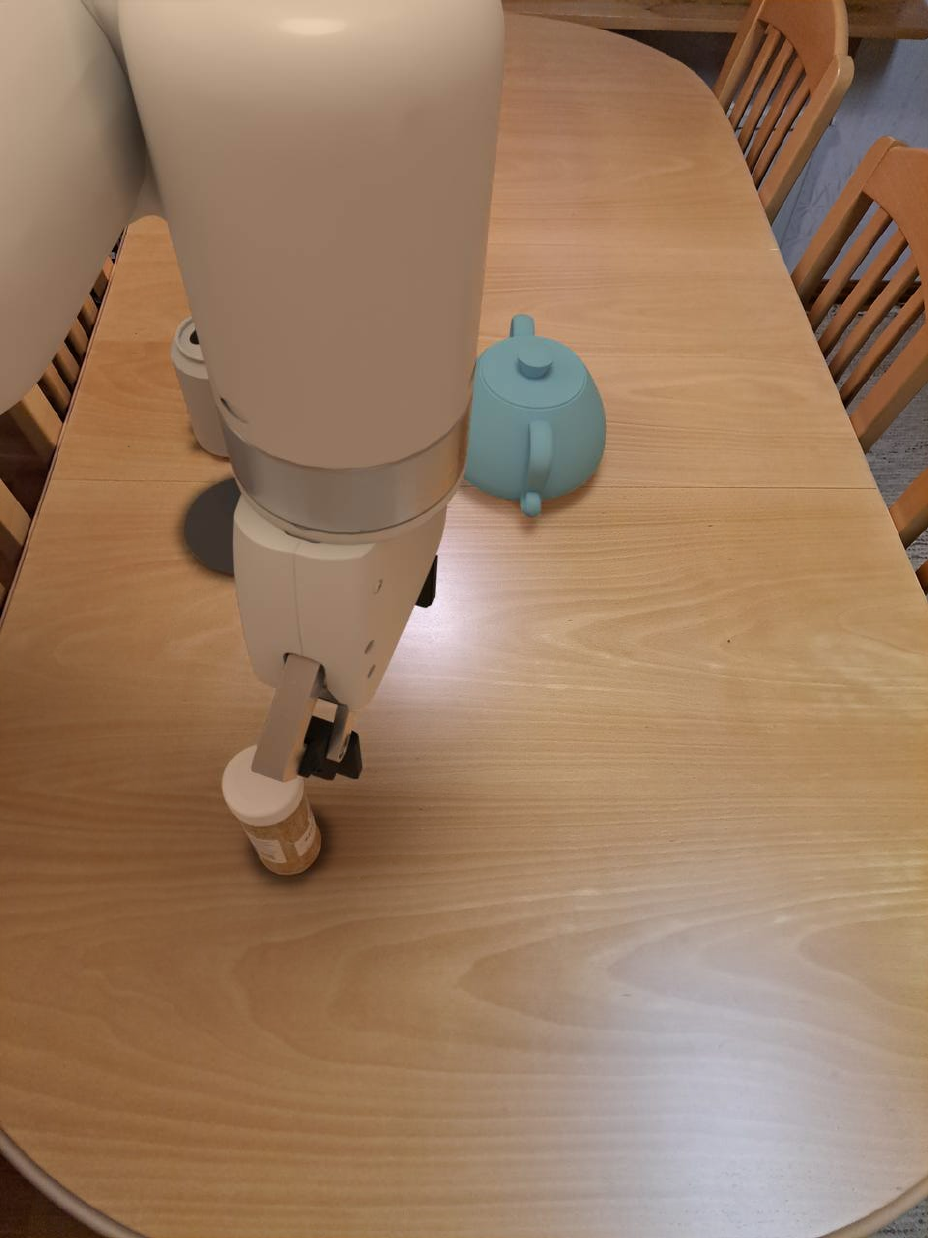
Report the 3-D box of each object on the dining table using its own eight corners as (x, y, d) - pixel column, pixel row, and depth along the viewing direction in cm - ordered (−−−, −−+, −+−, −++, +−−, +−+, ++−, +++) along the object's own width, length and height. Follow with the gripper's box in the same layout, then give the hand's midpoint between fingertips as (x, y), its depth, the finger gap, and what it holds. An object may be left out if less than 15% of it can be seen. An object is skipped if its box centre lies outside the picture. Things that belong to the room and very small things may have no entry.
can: (230, 395, 82) (205, 291, 71) (292, 425, 80) (275, 323, 70) (180, 442, 78) (145, 340, 68) (244, 475, 76) (218, 375, 66)
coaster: (227, 599, 69) (226, 596, 69) (161, 516, 73) (160, 513, 73) (335, 535, 73) (335, 531, 73) (267, 460, 77) (266, 456, 77)
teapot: (613, 537, 75) (648, 439, 64) (393, 541, 73) (390, 441, 63) (582, 383, 85) (608, 276, 74) (388, 383, 84) (385, 274, 73)
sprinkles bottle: (333, 853, 59) (315, 788, 47) (276, 890, 57) (243, 832, 46) (301, 801, 61) (276, 727, 49) (245, 835, 59) (206, 767, 48)
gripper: (344, 230, 30) (363, 520, 45) (84, 605, 21) (214, 813, 36) (540, 282, 29) (495, 560, 44) (354, 695, 21) (374, 871, 35)
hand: (368, 674), depth 40 cm, fingers open, 9 cm apart
